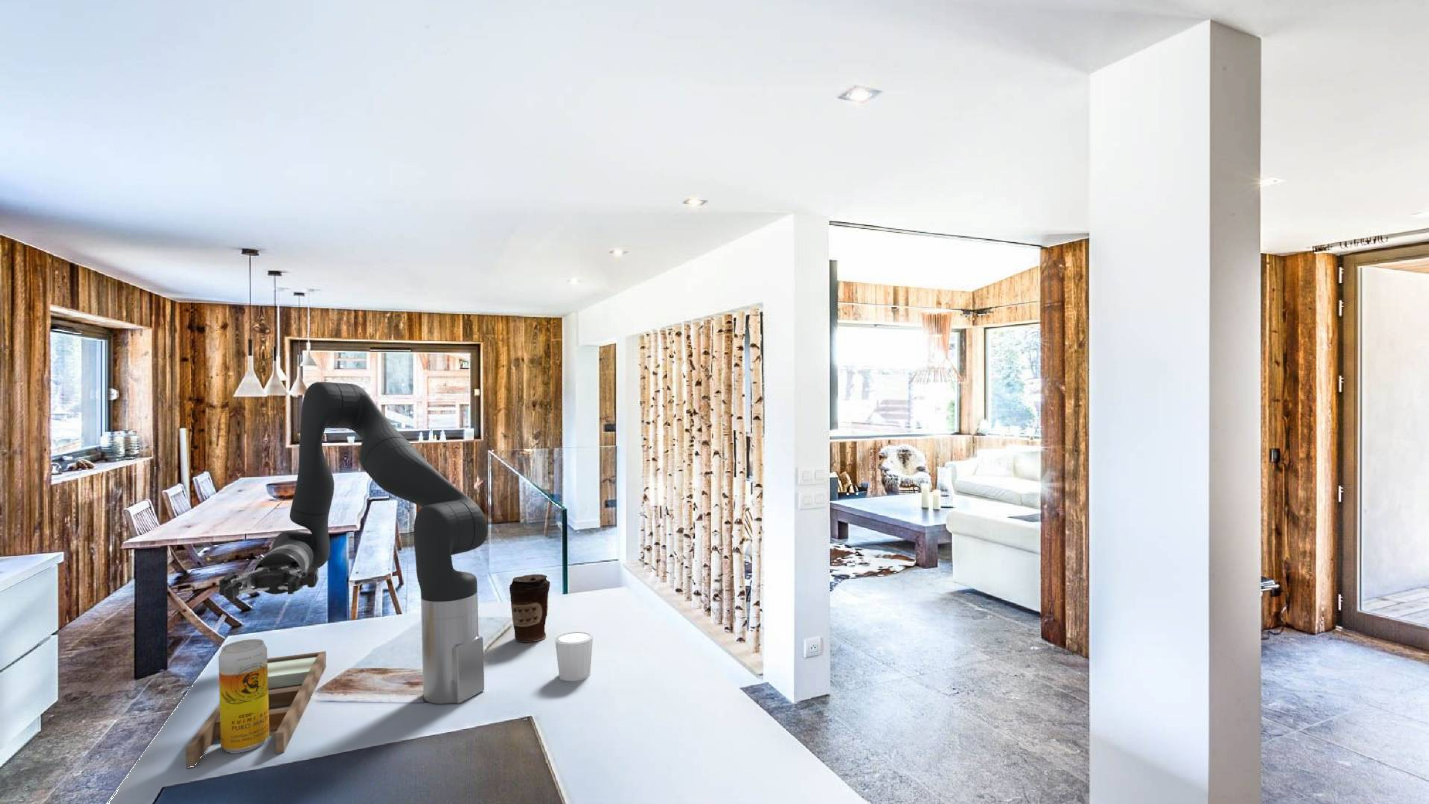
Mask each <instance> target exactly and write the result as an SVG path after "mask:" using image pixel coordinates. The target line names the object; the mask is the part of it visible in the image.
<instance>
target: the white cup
mask: <svg viewBox="0 0 1429 804" xmlns="http://www.w3.org/2000/svg"><path fill="white" fill-rule="evenodd" d="M593 638H594V636H593V634H592V633H589V632H586V631H572V632H571V631H570V632H566V633H565V632H564V633H562V634H560V635H558V636H556V637H555V639H554V642H555V644H554V645H555V649H556V659H557V660H556V661H557V668H558V670H557V671H558V677H559V679H560V680H561V681H565V682H579V681H582V680H585V679H588V678H589V677H590V676H591V669H592V656H593V655H592V654H593V653H592V652H593Z"/></svg>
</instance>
